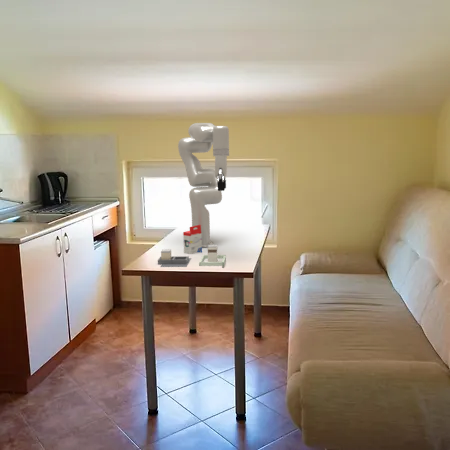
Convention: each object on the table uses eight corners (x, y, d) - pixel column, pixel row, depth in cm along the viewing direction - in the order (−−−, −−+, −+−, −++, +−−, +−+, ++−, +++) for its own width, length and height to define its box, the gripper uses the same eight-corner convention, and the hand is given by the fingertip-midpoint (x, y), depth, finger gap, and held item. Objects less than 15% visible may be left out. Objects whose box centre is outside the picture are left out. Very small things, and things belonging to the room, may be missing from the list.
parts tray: (202, 260, 236) (202, 255, 235) (225, 260, 235) (225, 254, 234) (199, 267, 222) (199, 262, 221) (223, 267, 221) (223, 262, 221)
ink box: (195, 251, 254) (194, 223, 251) (202, 252, 251) (201, 224, 248) (183, 254, 247) (182, 226, 245) (190, 256, 244) (189, 227, 242)
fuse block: (162, 260, 237) (162, 246, 236) (191, 260, 236) (191, 246, 235) (155, 269, 221) (155, 254, 220) (186, 269, 220) (186, 254, 219)
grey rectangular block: (209, 261, 231) (208, 244, 229) (217, 261, 230) (217, 244, 229) (208, 263, 227) (207, 246, 225) (216, 263, 226) (216, 246, 225)
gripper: (214, 152, 239) (215, 187, 242) (211, 153, 222) (212, 191, 225) (230, 152, 238) (230, 187, 241) (227, 153, 221) (228, 191, 224)
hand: (221, 189), depth 233 cm, fingers open, 9 cm apart
